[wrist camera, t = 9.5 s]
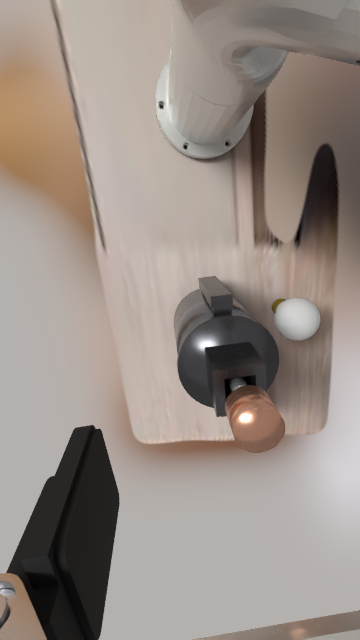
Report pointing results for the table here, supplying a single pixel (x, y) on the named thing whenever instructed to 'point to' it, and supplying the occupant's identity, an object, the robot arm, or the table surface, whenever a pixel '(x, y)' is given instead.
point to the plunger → (253, 417)
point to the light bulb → (296, 318)
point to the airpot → (220, 345)
